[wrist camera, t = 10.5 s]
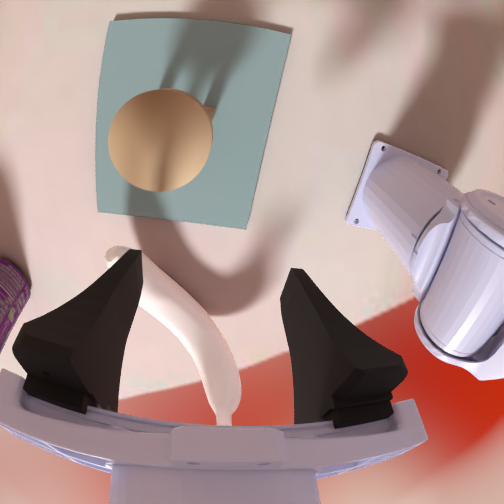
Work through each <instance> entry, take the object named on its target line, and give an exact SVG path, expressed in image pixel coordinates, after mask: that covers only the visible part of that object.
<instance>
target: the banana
mask: <svg viewBox="0 0 504 504" xmlns="http://www.w3.org/2000/svg"><path fill="white" fill-rule="evenodd" d="M129 249H131V248H128V247H124V246H114V247H112V248H110V249H109V250H108V251H107V253H106V255H105V258H106V262H107V266H108V269H109V268H110V267H111V266H112V265H113V264H114V263H115V262H116V261H117V260H118V259H119V258H120V257H122V256H123V255H124V254H125V253H126V252H127V251H128V250H129ZM142 269H143V287H142V292H141V297H140V301H139V304H138V305H139V306H140V307H142V308H143V309H145V310H146V311H148V312H149V313H150V314H152V315H153V316H154V317H155V318H157V319H158V320H159V321H160V322H161V323H163V324H164V325H165V326H166V327H167V328H169V329H170V330H171V331H172V332H173V333H174V334H175V335H176V336H177V337H178V339H179V340H180V341H181V342H182V343H183V345H184V346H185V347H186V349H187V350H188V351H189V353H190V355H191V356H192V358H193V360H194V362H195V363H196V366H197V368H198V370H199V373H200V376H201V379H202V382H203V385H204V389H205V392H206V395H207V398H208V401H209V403H210V405H211V407H212V409H213V411H214V412H215V414H216V417H217V426H232V421H231V416H232V413H233V412H234V411H235V410H236V408H237V407H238V405H239V402H240V398H241V382H240V376H239V372H238V368H237V365H236V363H235V360H234V357H233V355H232V352H231V350H230V348H229V346H228V344H227V342H226V340H225V338H224V337H223V335H222V333H221V332H220V331H219V329H218V328H217V326H216V325H215V323H214V322H213V320H212V319H211V317H210V316H209V315H208V313H207V312H206V311H205V310H204V309H203V308H202V307H201V305H200V304H199V303H198V302H197V301H196V300H195V299H194V298H193V297H192V296H191V295H189V294H188V293H187V292H186V291H185V290H184V289H183V288H182V287H181V286H180V285H178V284H177V283H176V282H175V281H174V280H173V279H172V278H170V277H169V276H168V275H167V274H166V273H164V272H163V271H162V270H161V269H160V268H158V267H157V266H156V265H155V264H154V263H153V262H152V261H151V260H150V259H149V258H148V257H147V256H145V255H144V254H142Z"/></svg>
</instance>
